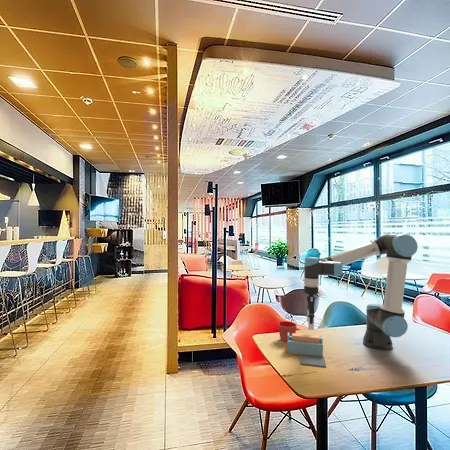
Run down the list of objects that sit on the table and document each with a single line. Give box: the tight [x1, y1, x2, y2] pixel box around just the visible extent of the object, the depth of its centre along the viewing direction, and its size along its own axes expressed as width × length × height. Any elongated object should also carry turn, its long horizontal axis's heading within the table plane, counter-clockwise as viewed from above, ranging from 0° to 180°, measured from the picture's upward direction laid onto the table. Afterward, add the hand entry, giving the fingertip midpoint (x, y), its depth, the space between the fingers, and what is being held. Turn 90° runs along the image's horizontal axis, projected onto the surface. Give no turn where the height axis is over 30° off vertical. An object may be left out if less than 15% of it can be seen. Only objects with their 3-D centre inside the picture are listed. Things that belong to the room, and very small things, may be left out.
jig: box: [286, 333, 324, 357], centre depth 159 cm, size 18×9×9 cm, turn 77°
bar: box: [292, 333, 320, 343], centre depth 159 cm, size 14×4×4 cm, turn 77°
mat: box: [299, 354, 327, 368], centre depth 147 cm, size 12×10×1 cm
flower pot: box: [277, 320, 298, 343], centre depth 176 cm, size 11×11×10 cm
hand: (310, 325), depth 159 cm, fingers open, 13 cm apart
